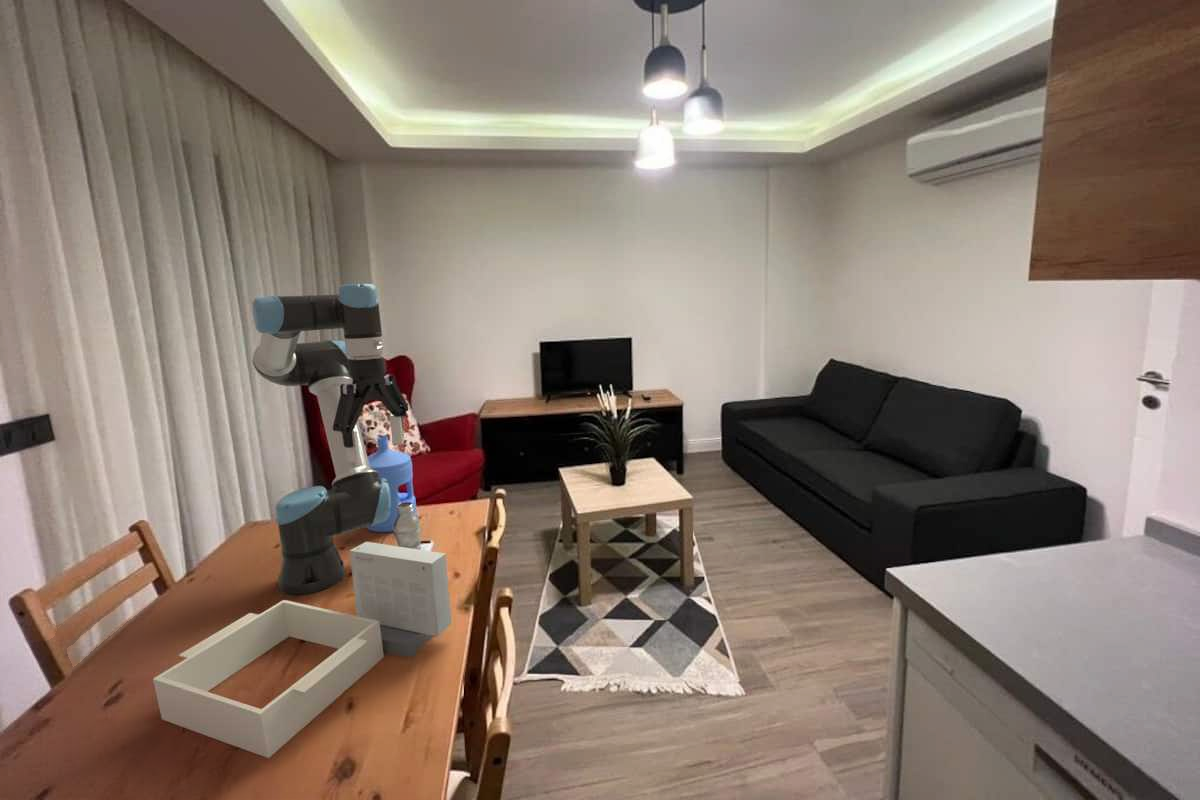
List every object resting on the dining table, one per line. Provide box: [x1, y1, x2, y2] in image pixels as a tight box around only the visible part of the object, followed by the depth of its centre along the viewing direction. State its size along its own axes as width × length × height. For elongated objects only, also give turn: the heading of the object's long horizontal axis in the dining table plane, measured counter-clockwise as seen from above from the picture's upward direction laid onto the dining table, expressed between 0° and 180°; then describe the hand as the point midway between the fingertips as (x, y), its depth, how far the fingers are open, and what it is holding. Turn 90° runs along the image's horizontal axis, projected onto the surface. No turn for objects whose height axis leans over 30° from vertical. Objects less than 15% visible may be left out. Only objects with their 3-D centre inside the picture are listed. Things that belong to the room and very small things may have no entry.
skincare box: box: [349, 541, 452, 637], centre depth 116 cm, size 21×5×16 cm, turn 69°
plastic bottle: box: [393, 502, 422, 550], centre depth 139 cm, size 6×7×20 cm
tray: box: [152, 599, 385, 759], centre depth 103 cm, size 31×26×8 cm
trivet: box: [380, 625, 433, 659], centre depth 117 cm, size 12×12×3 cm
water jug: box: [366, 435, 419, 533], centre depth 173 cm, size 16×16×28 cm
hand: (377, 452), depth 123 cm, fingers open, 13 cm apart
